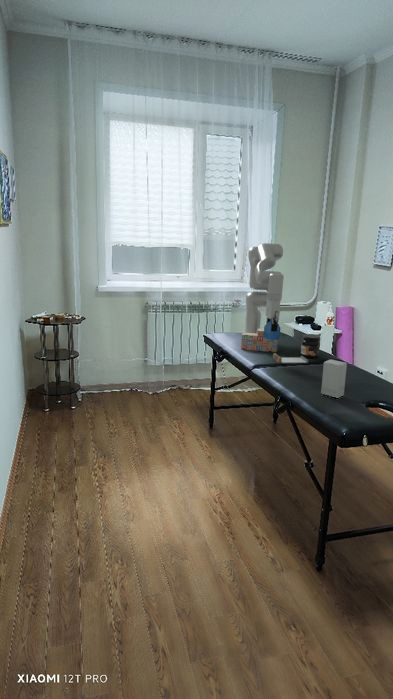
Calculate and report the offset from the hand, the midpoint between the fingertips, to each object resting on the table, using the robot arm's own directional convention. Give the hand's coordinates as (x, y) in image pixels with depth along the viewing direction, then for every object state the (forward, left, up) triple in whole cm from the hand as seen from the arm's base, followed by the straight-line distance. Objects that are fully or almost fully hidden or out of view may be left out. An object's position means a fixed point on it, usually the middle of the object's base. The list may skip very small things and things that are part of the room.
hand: (271, 329), depth 247 cm
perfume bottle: (0, 0, -5) cm, 5 cm away
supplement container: (-10, +28, -18) cm, 35 cm away
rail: (-1, +5, -18) cm, 19 cm away
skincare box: (+53, +11, -18) cm, 57 cm away
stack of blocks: (-25, +2, -18) cm, 31 cm away
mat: (-1, +14, -18) cm, 23 cm away
